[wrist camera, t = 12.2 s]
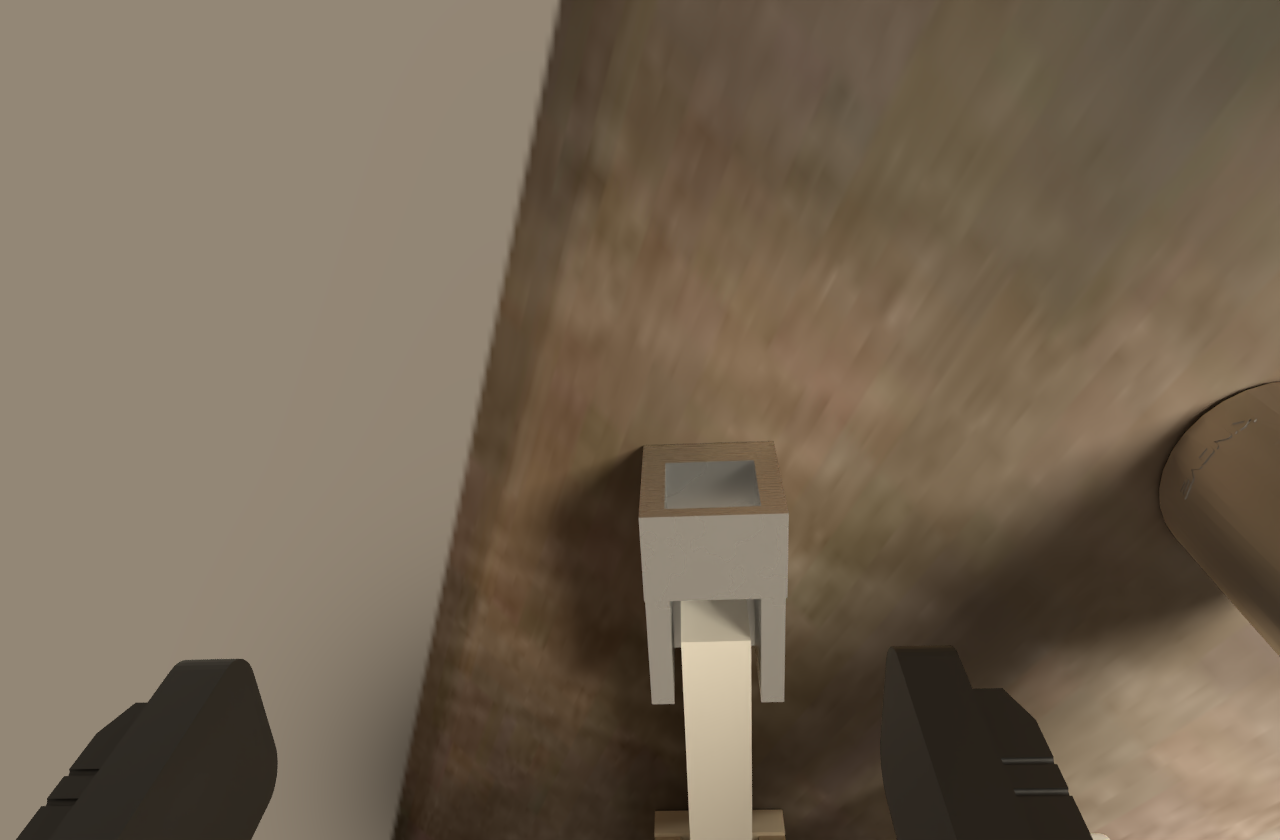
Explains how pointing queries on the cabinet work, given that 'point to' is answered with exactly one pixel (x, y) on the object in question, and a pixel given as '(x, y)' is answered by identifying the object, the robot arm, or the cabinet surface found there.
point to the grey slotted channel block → (714, 549)
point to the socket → (676, 828)
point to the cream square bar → (717, 717)
